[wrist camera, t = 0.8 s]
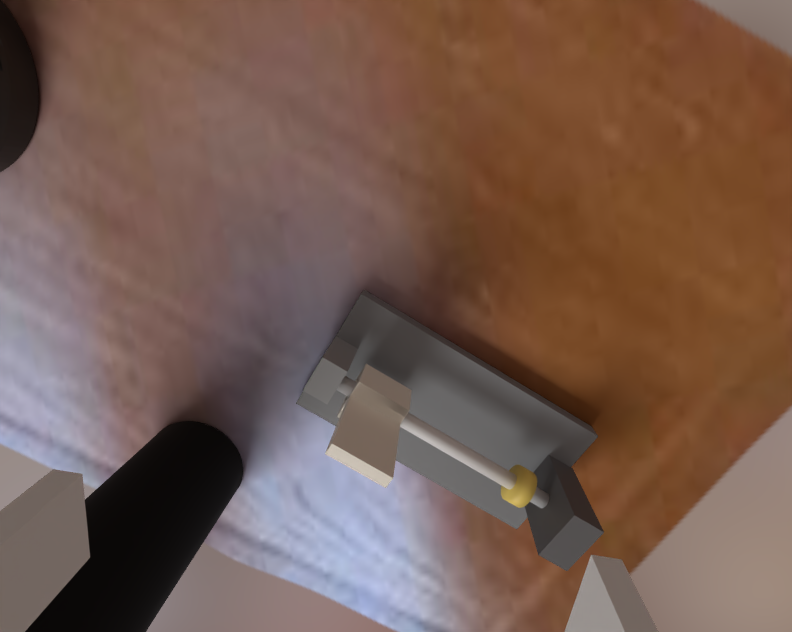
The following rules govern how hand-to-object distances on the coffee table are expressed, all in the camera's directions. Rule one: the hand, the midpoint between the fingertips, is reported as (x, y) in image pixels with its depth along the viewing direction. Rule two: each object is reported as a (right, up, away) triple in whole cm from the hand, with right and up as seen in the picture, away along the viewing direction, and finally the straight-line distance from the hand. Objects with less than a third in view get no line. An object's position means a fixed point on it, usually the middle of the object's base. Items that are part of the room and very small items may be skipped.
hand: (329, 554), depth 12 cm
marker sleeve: (0, 0, +22) cm, 22 cm away
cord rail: (+6, -2, +26) cm, 27 cm away
